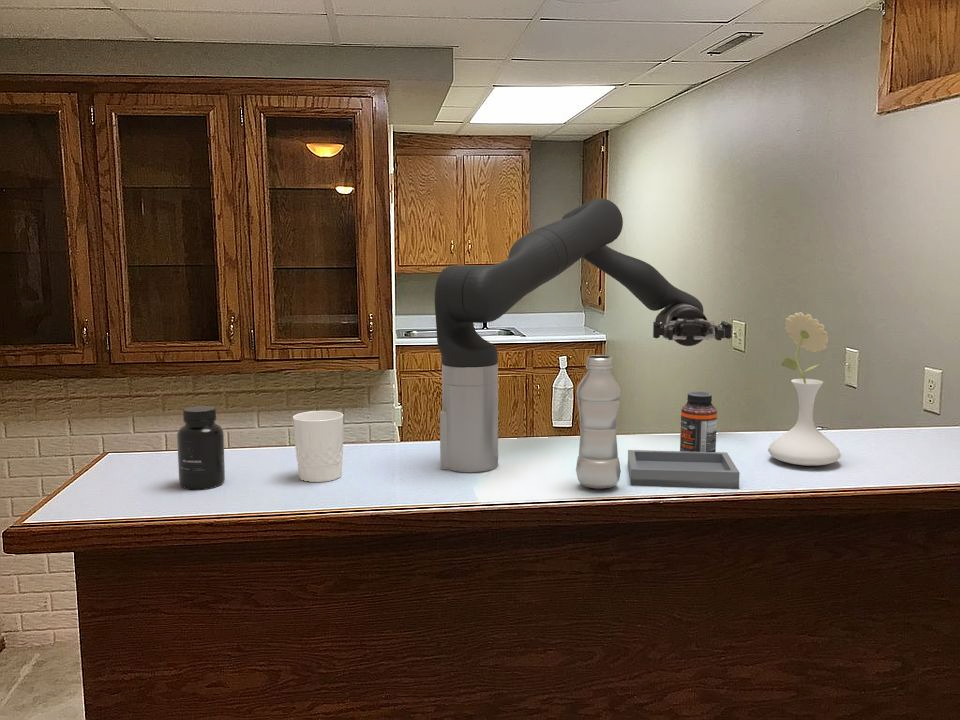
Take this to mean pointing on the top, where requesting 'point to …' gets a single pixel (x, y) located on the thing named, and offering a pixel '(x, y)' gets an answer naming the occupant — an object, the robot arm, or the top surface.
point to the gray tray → (682, 469)
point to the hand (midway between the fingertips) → (695, 334)
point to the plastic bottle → (598, 425)
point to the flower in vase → (805, 401)
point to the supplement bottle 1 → (200, 449)
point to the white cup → (319, 445)
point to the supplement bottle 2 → (698, 423)
